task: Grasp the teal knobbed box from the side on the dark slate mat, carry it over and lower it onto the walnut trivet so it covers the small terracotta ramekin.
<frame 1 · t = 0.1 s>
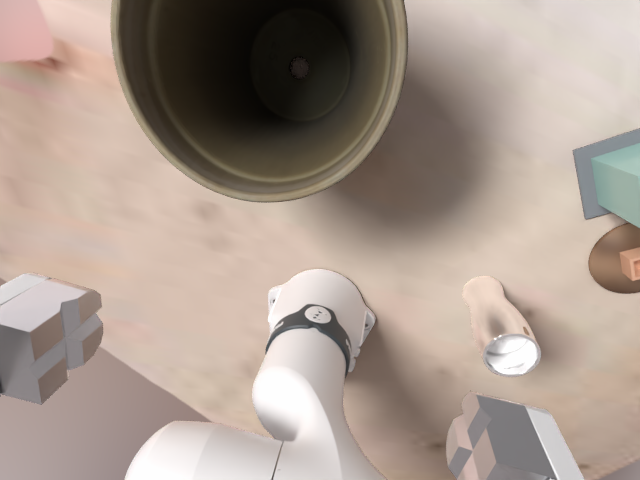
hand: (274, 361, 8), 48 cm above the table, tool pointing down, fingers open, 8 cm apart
shiny silver metal cup: (481, 291, 59), on the table
plant pot: (303, 67, 50), on the table
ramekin: (634, 259, 52), point 1 cm above the table, touching trivet
teal knobbed box: (622, 173, 49), resting on mat
mat: (621, 172, 49), on the table
trivet: (632, 257, 53), on the table
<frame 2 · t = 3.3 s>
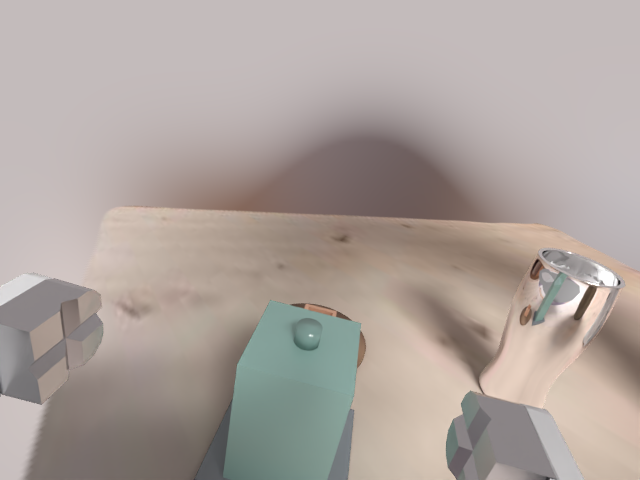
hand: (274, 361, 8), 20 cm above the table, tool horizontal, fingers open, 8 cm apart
shiny silver metal cup: (508, 394, 38), on the table
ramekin: (314, 334, 39), point 1 cm above the table, touching trivet
teal knobbed box: (283, 446, 28), resting on mat
mat: (282, 449, 28), on the table
trivet: (313, 339, 39), on the table
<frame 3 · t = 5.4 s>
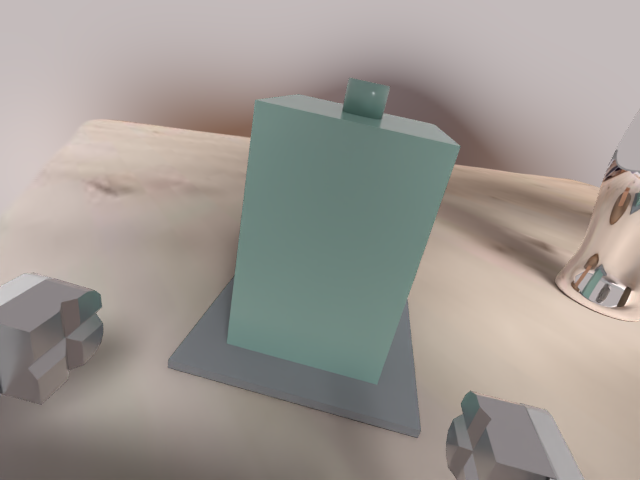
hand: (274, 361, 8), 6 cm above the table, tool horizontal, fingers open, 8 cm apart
shiny silver metal cup: (595, 299, 29), on the table
teal knobbed box: (314, 318, 19), resting on mat
mat: (312, 325, 19), on the table
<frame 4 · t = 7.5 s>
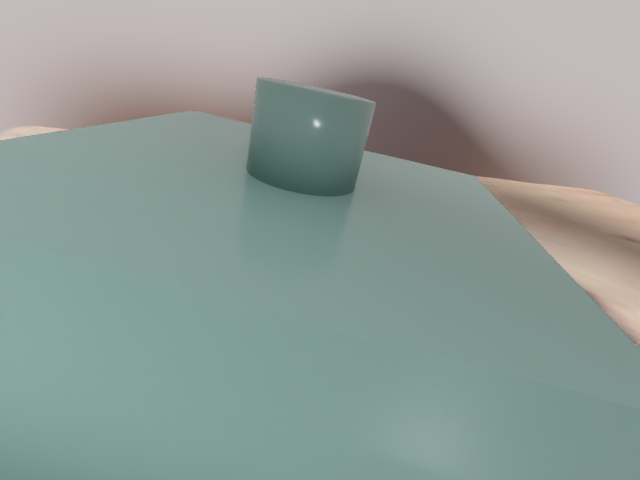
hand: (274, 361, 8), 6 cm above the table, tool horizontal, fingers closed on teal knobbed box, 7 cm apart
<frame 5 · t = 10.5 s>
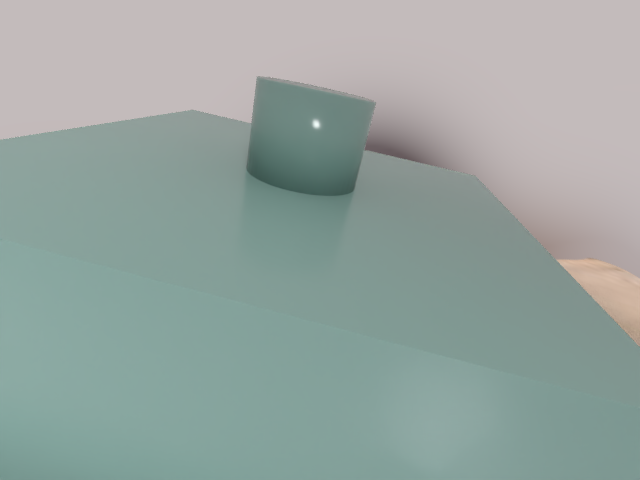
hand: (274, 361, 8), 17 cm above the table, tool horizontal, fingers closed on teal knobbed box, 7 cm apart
when the fingers open (7 cm above the table, at t = 13.3 s): teal knobbed box stays where it is, resting on trivet.
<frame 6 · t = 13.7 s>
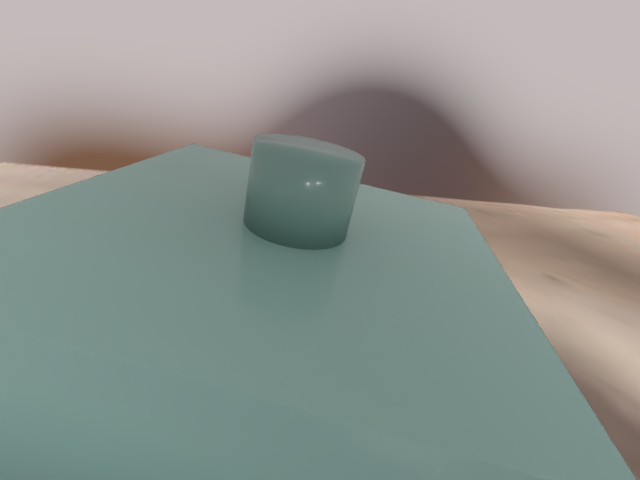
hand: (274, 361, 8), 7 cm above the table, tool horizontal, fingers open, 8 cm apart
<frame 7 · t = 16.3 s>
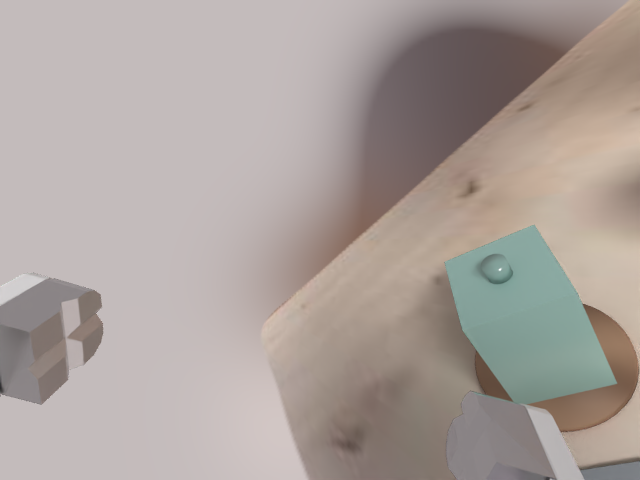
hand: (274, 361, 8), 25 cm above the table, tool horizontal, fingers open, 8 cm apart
teal knobbed box: (546, 356, 29), point 1 cm above the table, touching trivet
trivet: (548, 360, 29), on the table
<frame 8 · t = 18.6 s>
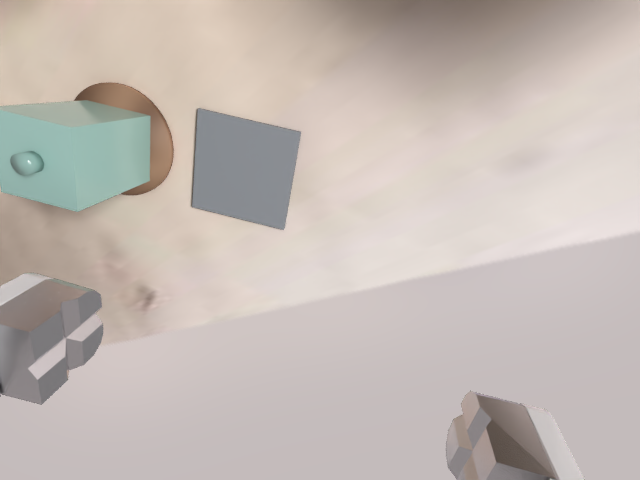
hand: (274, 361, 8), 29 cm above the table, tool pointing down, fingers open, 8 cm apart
teal knobbed box: (119, 141, 37), point 1 cm above the table, touching trivet
mat: (244, 171, 37), on the table
trivet: (122, 141, 38), on the table
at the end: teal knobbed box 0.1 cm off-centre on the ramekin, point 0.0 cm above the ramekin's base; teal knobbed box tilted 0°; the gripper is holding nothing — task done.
